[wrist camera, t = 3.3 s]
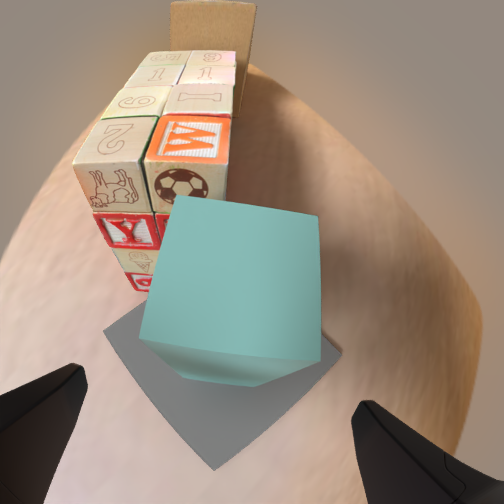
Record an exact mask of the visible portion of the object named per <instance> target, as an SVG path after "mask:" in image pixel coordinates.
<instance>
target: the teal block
mask: <svg viewBox="0 0 504 504" xmlns="http://www.w3.org/2000/svg"><path fill="white" fill-rule="evenodd" d="M139 339H140V340H141V341H142V342H143V343H145V344H146V345H147V346H148V347H149V348H150V349H151V350H152V351H153V352H154V353H155V354H156V355H158V356H159V357H160V358H161V359H162V360H163V361H164V362H165V363H167V364H168V365H169V366H170V367H171V368H172V369H173V370H175V371H176V372H177V373H178V374H179V375H181V376H182V377H183V378H188V379H194V380H200V381H207V382H214V383H222V384H230V385H239V386H249V387H255V386H258V385H261V384H264V383H267V382H269V381H272V380H275V379H278V378H280V377H283V376H285V375H288V374H291V373H293V372H296V371H298V370H301V369H303V368H305V367H308V366H310V365H313V364H315V363H317V362H320V361H321V272H320V244H319V224H318V216H314V215H309V214H303V213H297V212H292V211H286V210H280V209H274V208H267V207H261V206H255V205H248V204H242V203H235V202H228V201H221V200H214V199H206V198H199V197H191V196H183V195H176V198H175V201H174V204H173V207H172V210H171V214H170V217H169V220H168V223H167V227H166V230H165V233H164V237H163V240H162V244H161V247H160V251H159V255H158V258H157V262H156V266H155V270H154V273H153V277H152V281H151V285H150V289H149V293H148V298H147V302H146V306H145V311H144V315H143V320H142V324H141V329H140V334H139Z"/></svg>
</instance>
